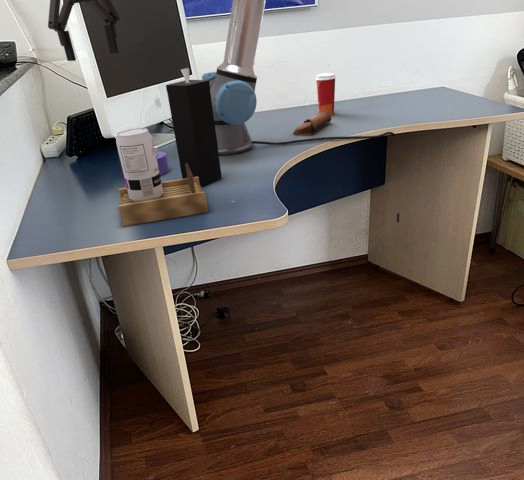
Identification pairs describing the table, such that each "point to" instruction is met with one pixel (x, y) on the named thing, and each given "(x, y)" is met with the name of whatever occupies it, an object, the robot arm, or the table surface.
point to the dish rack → (166, 202)
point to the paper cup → (326, 92)
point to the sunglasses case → (313, 124)
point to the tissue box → (194, 128)
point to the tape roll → (162, 162)
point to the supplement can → (139, 164)
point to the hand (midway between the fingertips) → (93, 56)
